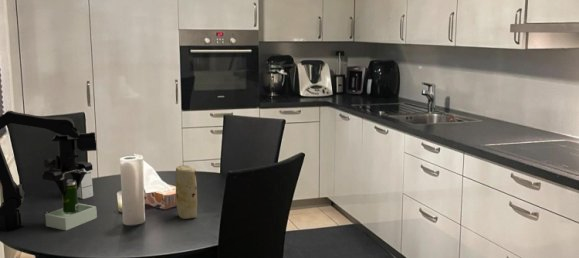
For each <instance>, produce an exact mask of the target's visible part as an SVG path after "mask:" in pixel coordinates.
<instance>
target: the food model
mask: <svg viewBox="0 0 579 258" xmlns="http://www.w3.org/2000/svg"><path fill="white" fill-rule="evenodd" d="M197 185H198V184H197V171H196V169H195V168H194V167H192V166H189V165H184V164H183V165H182V164H181V165H179V166H177V167H176V168H175V203H176V204H175V205H176V210H177V215H178V216H179V218H181V219H183V220H186V219H194V218H196V217H197V215H198V187H197Z"/></svg>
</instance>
